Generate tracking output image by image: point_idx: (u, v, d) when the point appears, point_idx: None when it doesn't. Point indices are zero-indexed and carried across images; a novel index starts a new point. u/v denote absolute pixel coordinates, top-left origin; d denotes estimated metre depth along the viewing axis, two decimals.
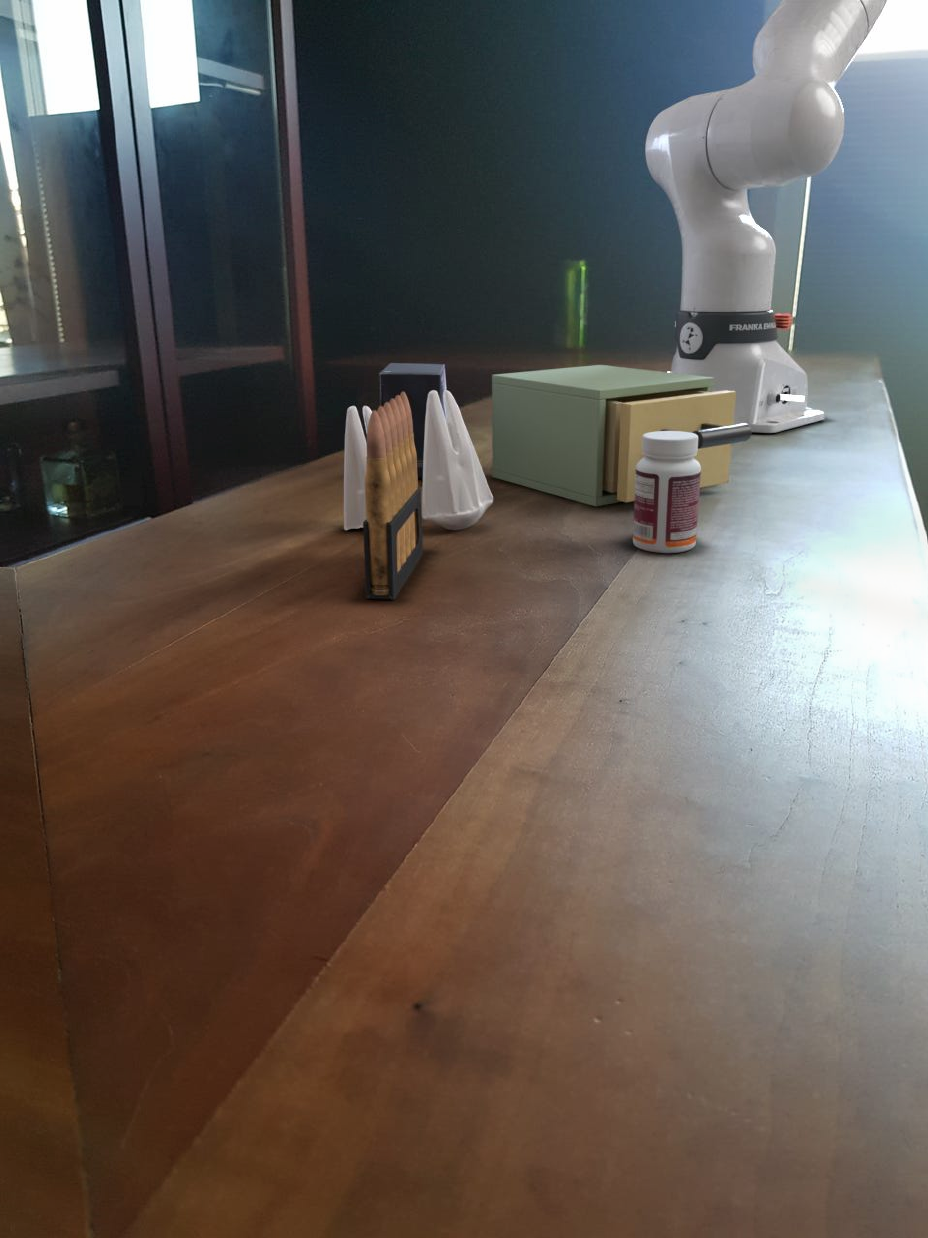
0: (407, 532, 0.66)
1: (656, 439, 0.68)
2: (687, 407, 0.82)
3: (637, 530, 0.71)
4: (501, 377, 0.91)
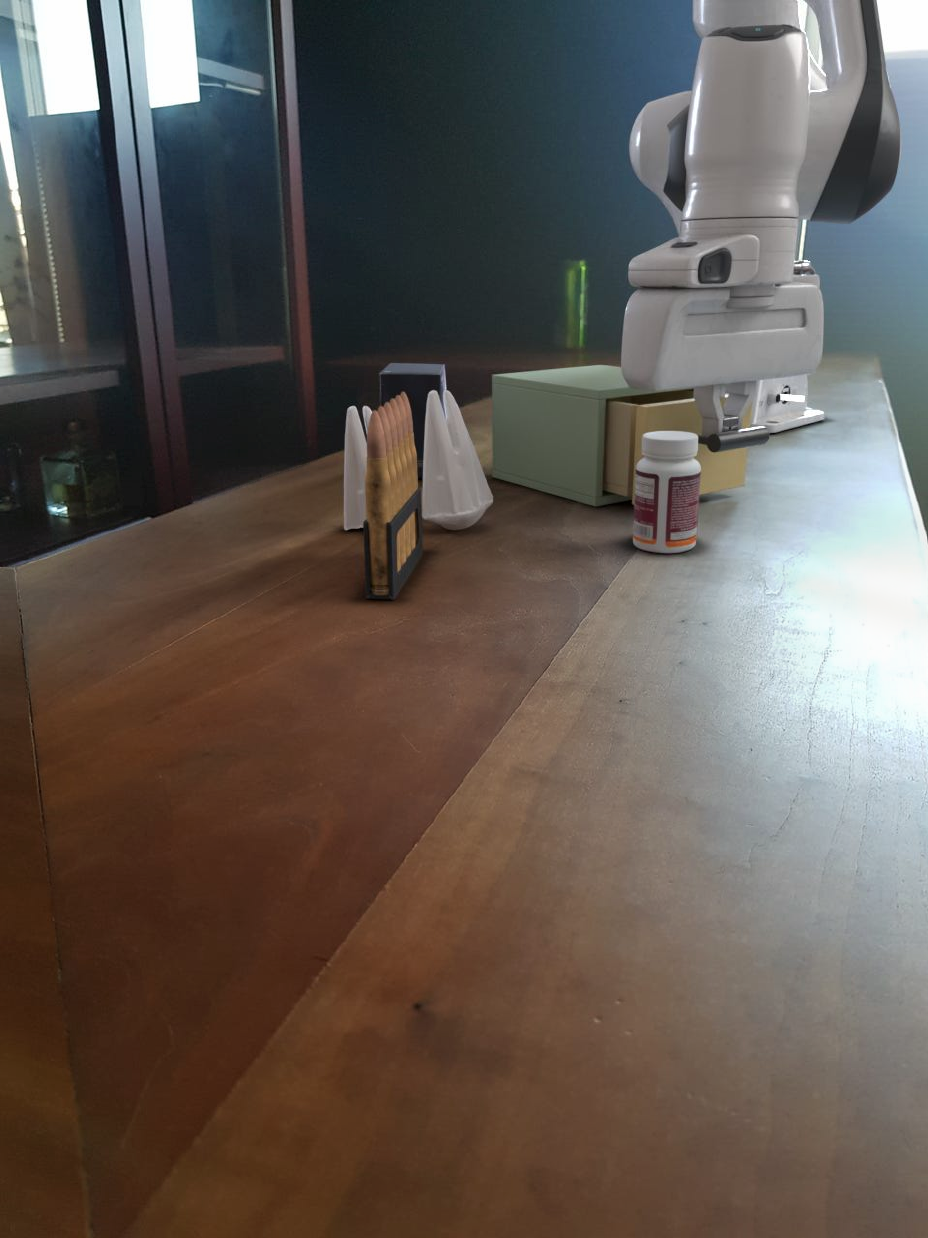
0: (407, 532, 0.66)
1: (656, 439, 0.68)
2: None
3: (637, 530, 0.71)
4: (501, 377, 0.91)
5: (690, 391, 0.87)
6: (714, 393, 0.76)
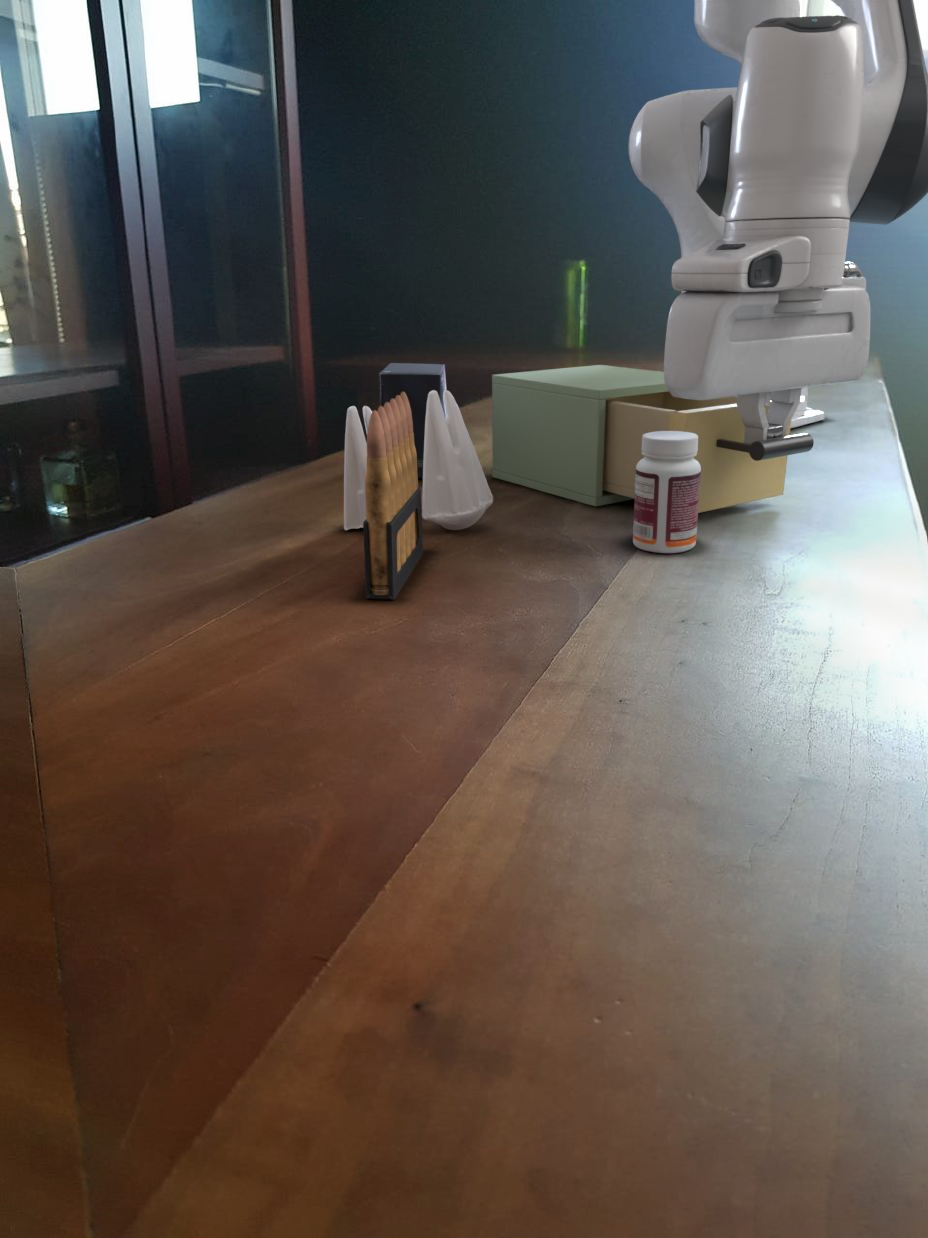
0: (407, 532, 0.66)
1: (656, 439, 0.68)
2: None
3: (637, 530, 0.71)
4: (501, 377, 0.91)
5: None
6: (759, 401, 0.72)
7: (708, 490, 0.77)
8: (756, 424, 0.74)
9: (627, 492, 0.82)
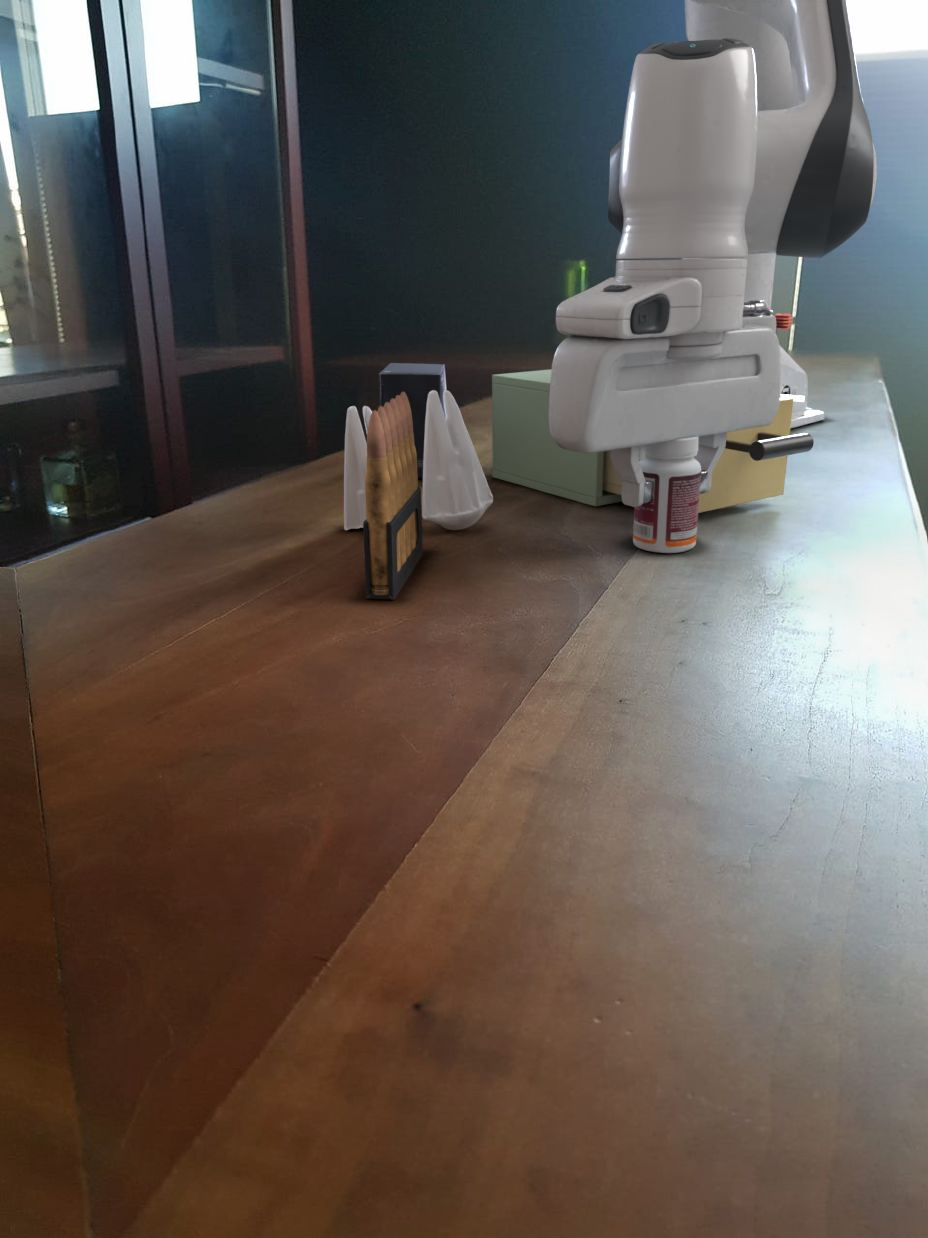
0: (407, 532, 0.66)
1: None
2: None
3: (637, 530, 0.71)
4: (501, 377, 0.91)
5: None
6: (632, 455, 0.66)
7: None
8: (632, 479, 0.68)
9: None
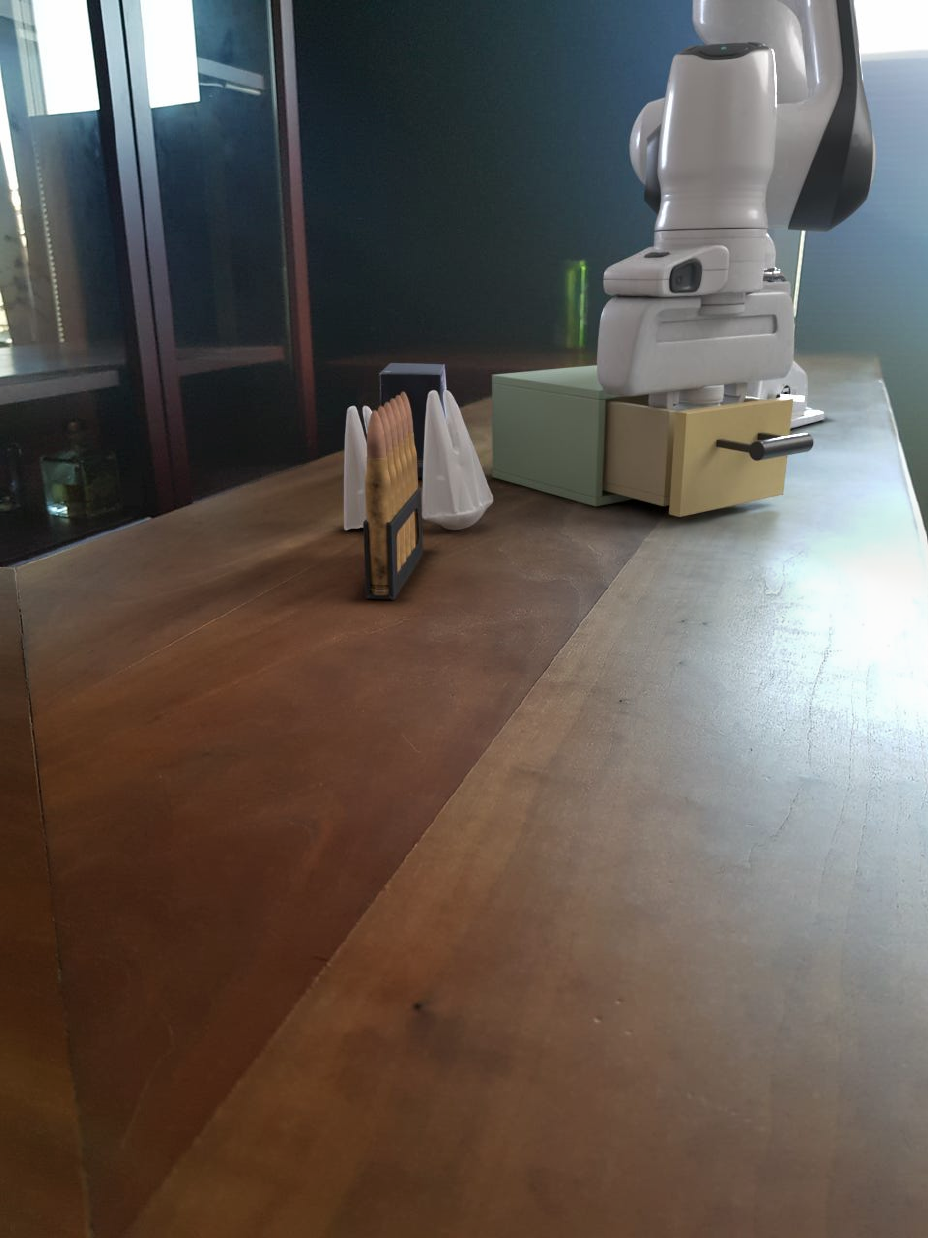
0: (407, 532, 0.66)
1: None
2: (744, 415, 0.77)
3: None
4: (501, 377, 0.91)
5: None
6: (668, 400, 0.77)
7: (708, 490, 0.77)
8: None
9: (627, 492, 0.82)
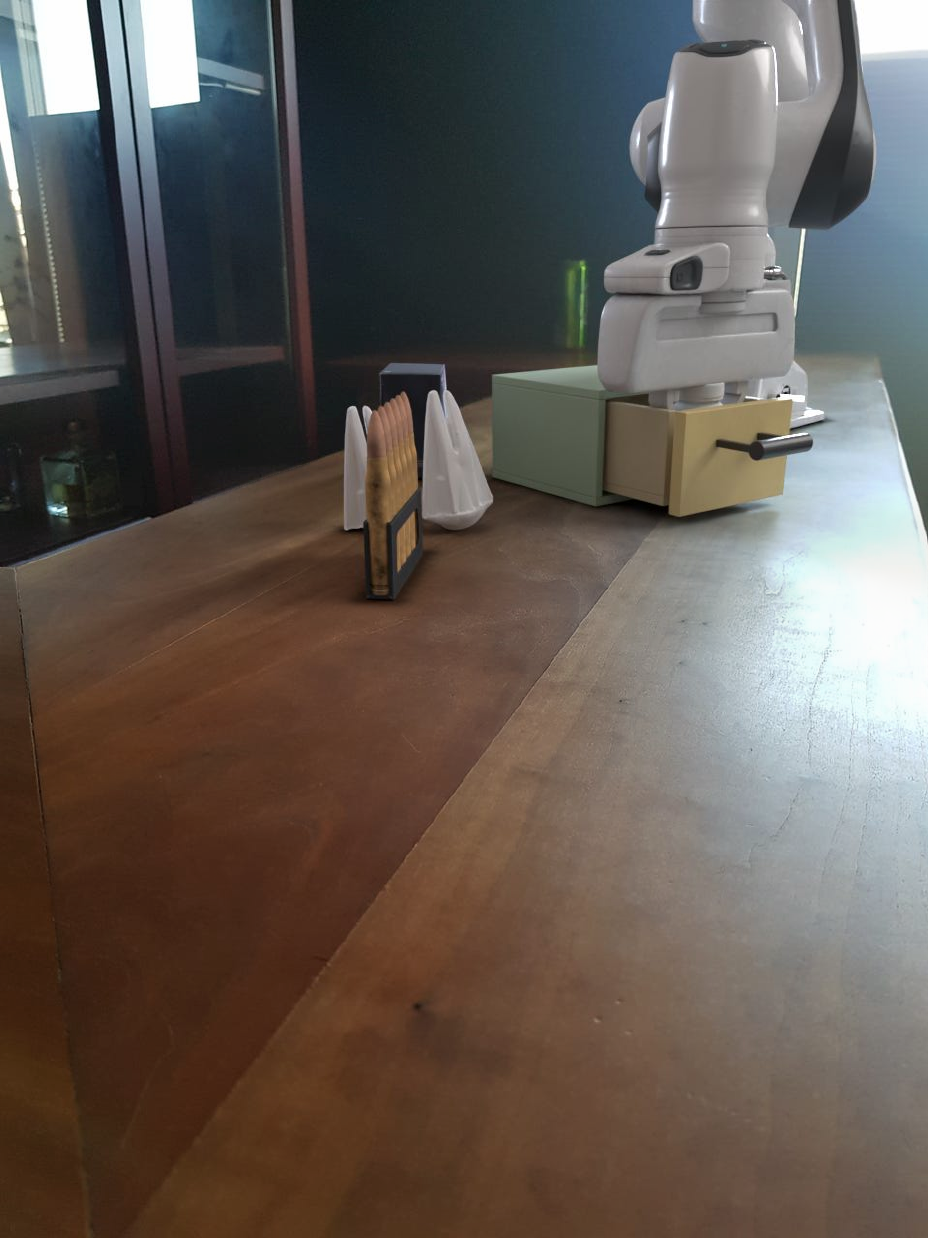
0: (407, 532, 0.66)
1: None
2: (743, 415, 0.77)
3: None
4: (501, 377, 0.91)
5: None
6: (668, 398, 0.77)
7: (707, 490, 0.77)
8: None
9: (627, 492, 0.82)
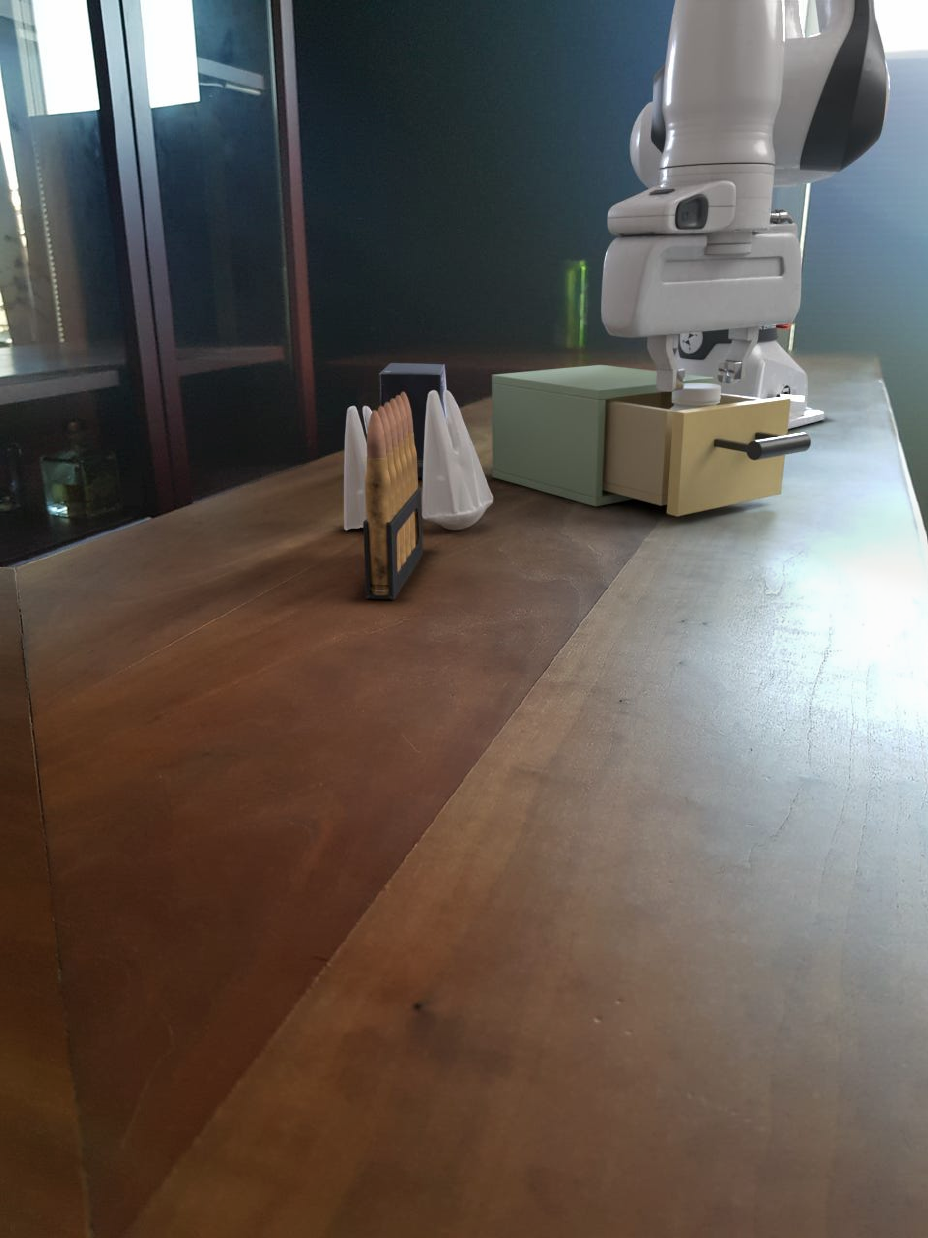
0: (407, 532, 0.66)
1: (685, 388, 0.78)
2: (741, 415, 0.77)
3: None
4: (501, 377, 0.91)
5: (724, 395, 0.84)
6: (667, 343, 0.75)
7: (706, 489, 0.77)
8: (666, 366, 0.77)
9: (625, 491, 0.82)
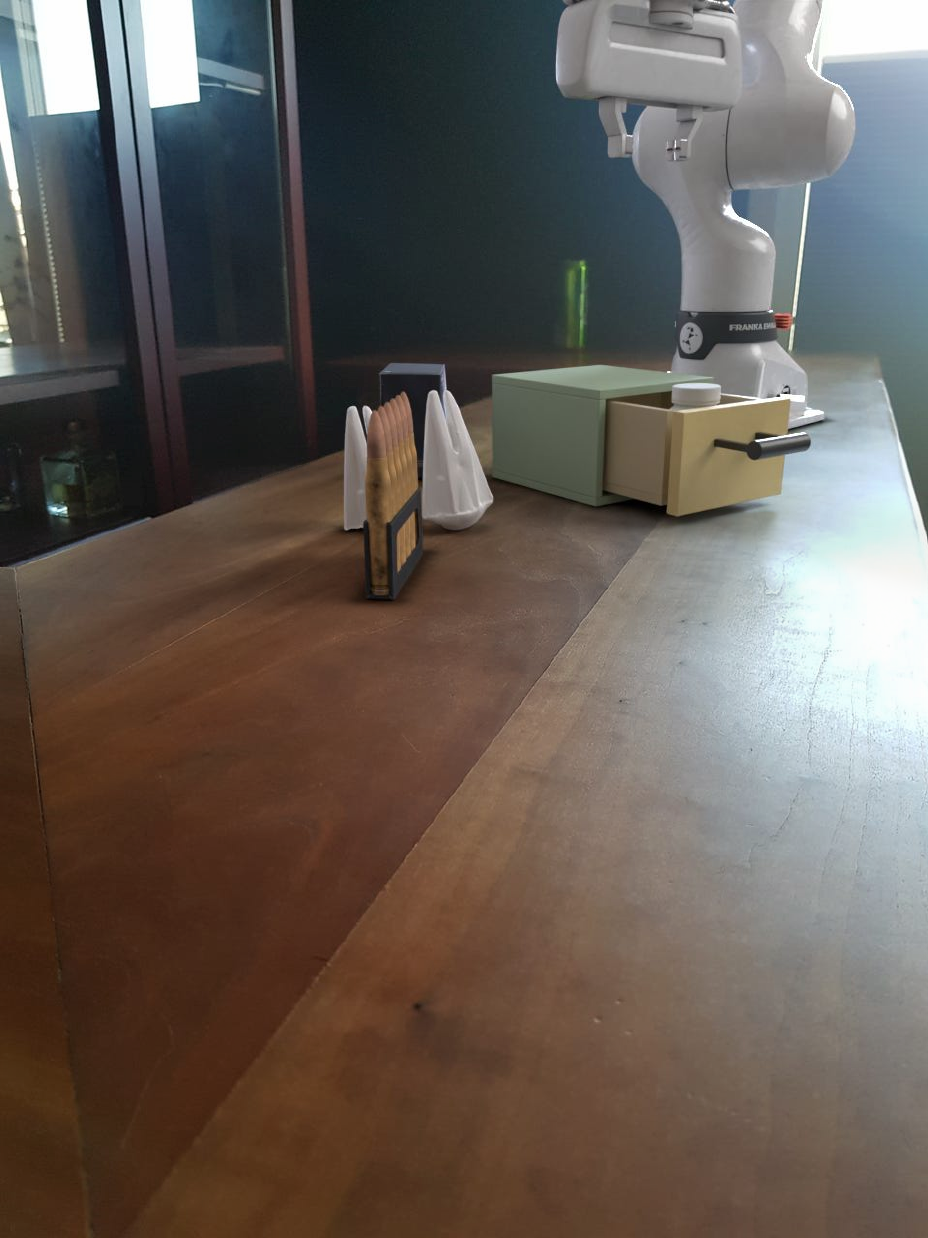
0: (407, 532, 0.66)
1: (685, 388, 0.78)
2: (741, 415, 0.77)
3: None
4: (501, 377, 0.91)
5: (724, 395, 0.84)
6: (616, 106, 0.83)
7: (706, 489, 0.77)
8: (616, 131, 0.85)
9: (625, 491, 0.82)
